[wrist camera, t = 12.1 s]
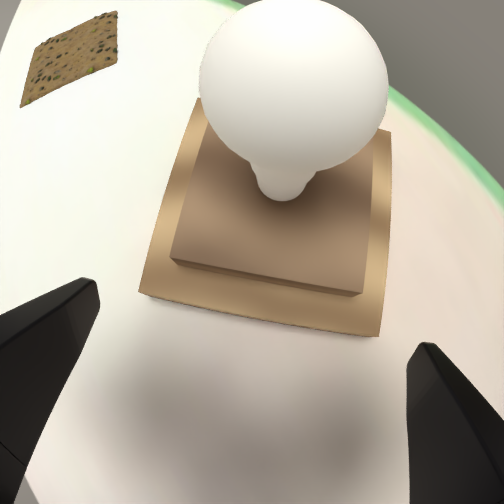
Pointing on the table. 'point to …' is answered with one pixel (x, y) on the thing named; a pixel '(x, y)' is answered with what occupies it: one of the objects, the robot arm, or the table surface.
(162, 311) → the table surface
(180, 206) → the plinth
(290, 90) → the lightbulb
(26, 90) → the cookie
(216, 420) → the table surface
